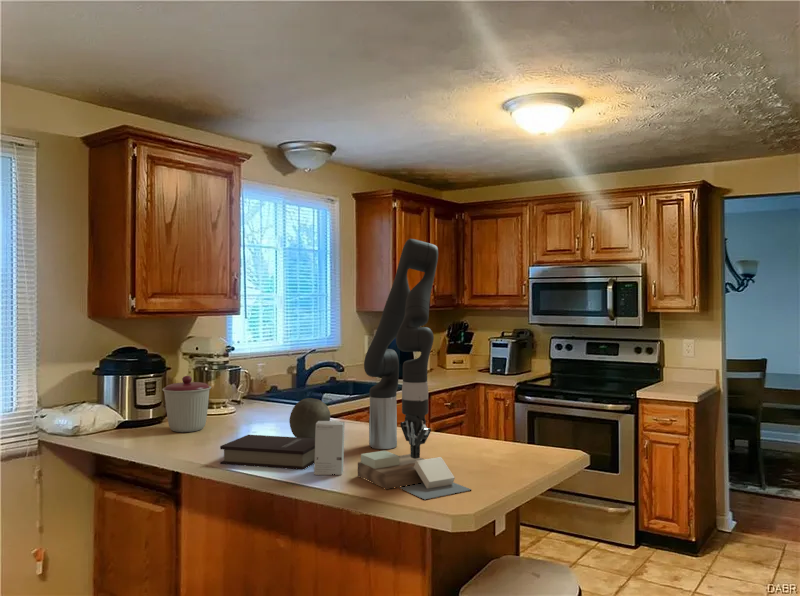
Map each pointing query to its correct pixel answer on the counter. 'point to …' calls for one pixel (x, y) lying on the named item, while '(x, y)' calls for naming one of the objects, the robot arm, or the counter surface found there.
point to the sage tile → (379, 459)
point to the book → (270, 452)
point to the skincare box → (329, 448)
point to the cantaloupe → (308, 417)
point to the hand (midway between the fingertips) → (415, 457)
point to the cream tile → (434, 472)
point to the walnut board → (392, 473)
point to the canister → (187, 405)
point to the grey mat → (434, 490)
